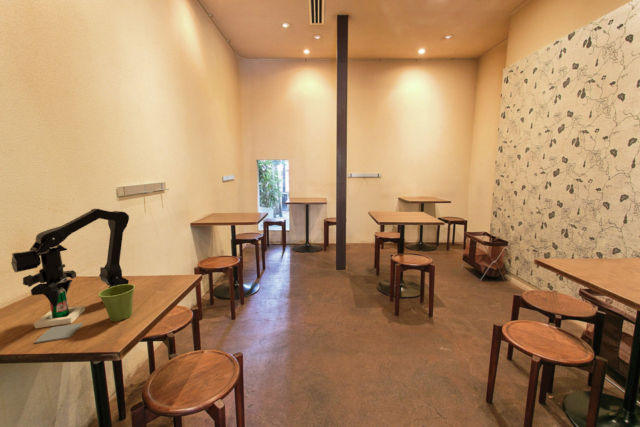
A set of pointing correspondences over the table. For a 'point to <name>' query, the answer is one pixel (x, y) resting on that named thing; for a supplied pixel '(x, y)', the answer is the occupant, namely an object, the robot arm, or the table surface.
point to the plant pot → (118, 301)
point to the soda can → (60, 306)
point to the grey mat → (59, 333)
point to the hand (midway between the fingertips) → (58, 303)
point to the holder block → (48, 320)
